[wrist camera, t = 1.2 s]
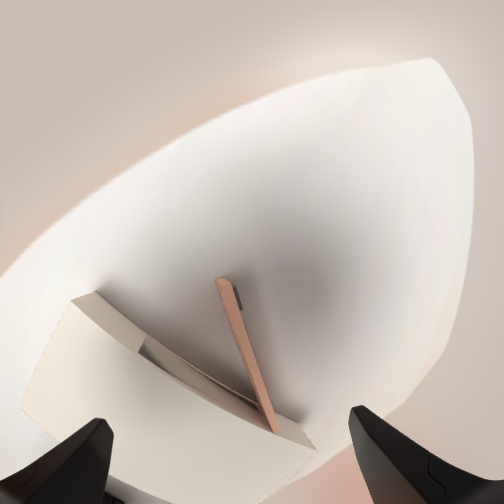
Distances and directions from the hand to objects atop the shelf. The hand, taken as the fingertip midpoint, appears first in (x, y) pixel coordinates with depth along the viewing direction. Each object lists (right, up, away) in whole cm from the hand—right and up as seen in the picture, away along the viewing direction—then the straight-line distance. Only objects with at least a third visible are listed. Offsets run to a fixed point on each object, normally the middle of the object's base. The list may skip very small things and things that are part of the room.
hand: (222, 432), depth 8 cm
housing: (-7, -9, +12) cm, 16 cm away
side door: (0, -2, +14) cm, 14 cm away
